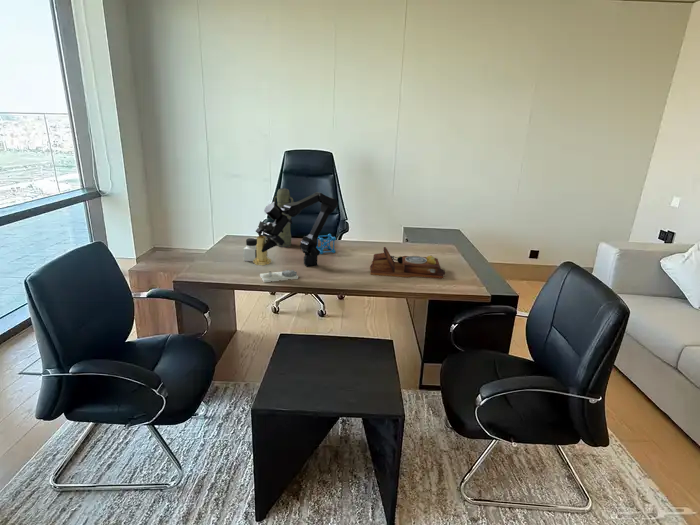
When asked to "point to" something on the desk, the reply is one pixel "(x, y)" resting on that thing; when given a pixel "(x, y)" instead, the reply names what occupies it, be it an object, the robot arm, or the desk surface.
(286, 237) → the thermos
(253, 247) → the white pill bottle
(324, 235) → the molecular structure
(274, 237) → the robot arm
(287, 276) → the gear board
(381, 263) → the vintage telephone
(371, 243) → the desk surface
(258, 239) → the yellow octagonal tube
